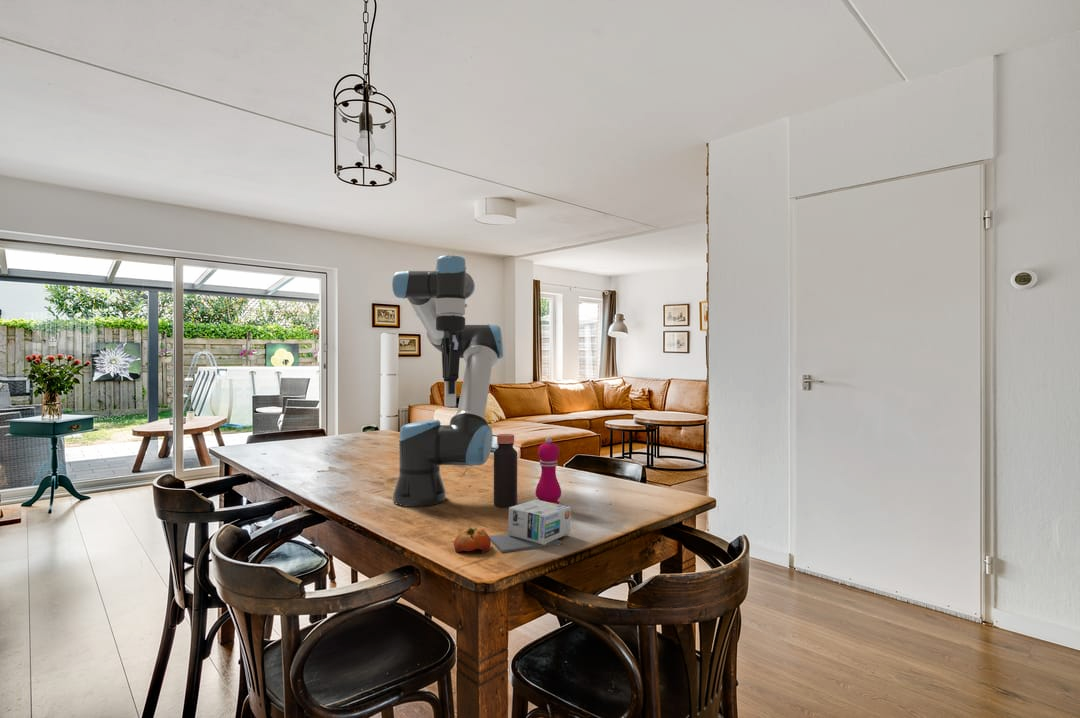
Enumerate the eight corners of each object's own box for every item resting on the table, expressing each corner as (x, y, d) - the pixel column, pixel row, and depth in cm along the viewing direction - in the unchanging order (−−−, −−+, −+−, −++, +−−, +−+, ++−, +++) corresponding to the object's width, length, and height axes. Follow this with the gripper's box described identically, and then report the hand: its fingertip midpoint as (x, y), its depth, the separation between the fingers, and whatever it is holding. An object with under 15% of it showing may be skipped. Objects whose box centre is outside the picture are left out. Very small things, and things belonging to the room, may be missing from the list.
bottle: (495, 501, 157) (495, 433, 157) (518, 501, 156) (518, 433, 156) (492, 507, 150) (492, 436, 150) (516, 508, 150) (516, 436, 150)
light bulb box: (507, 535, 124) (544, 546, 117) (507, 506, 124) (544, 516, 117) (535, 525, 132) (571, 534, 126) (535, 497, 132) (572, 506, 126)
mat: (488, 538, 124) (488, 536, 124) (543, 531, 129) (543, 529, 129) (501, 552, 115) (501, 550, 115) (560, 544, 120) (560, 542, 120)
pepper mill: (563, 511, 146) (563, 438, 147) (537, 512, 145) (538, 439, 145) (558, 504, 154) (558, 435, 154) (533, 505, 152) (534, 435, 153)
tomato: (444, 540, 118) (465, 514, 120) (463, 555, 121) (484, 529, 123) (459, 557, 111) (482, 528, 113) (480, 572, 115) (501, 544, 117)
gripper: (471, 314, 134) (470, 408, 134) (458, 318, 146) (458, 404, 146) (441, 313, 132) (441, 408, 131) (431, 317, 144) (431, 404, 143)
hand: (450, 406), depth 139 cm, fingers closed
